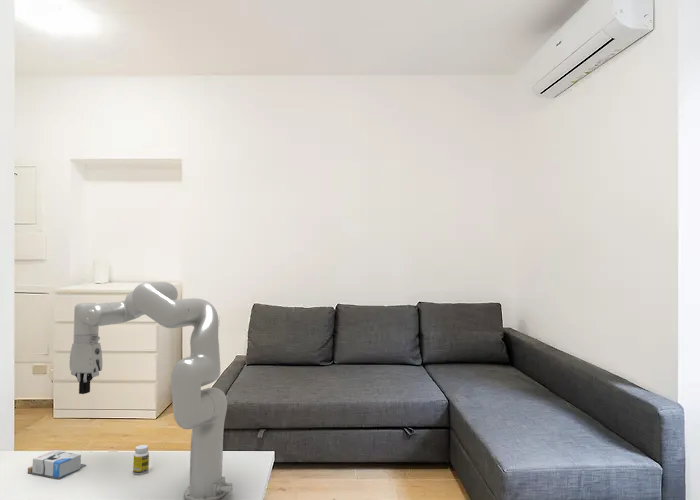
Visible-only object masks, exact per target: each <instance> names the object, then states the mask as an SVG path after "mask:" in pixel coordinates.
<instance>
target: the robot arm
mask: <svg viewBox="0 0 700 500" xmlns="http://www.w3.org/2000/svg"><path fill="white" fill-rule="evenodd" d="M178 293H179V292H178V289H177V288H176V286H175V285H174V284H172V283H171V282H167V281H150V282H149V281H147V282H142V283H140V284H138V285H137V286H136V287H135V288H134V289H133V291H130V292H129V293H127V295H126V297H125V299H124V300H121V301H115V302H114V301H113V302H103V303H96V302H83V303H82V302H81V303H76V305H75V306H74V310H73V311H74V315H73V342H72V345H71V347H70V348H71V349H70V354H69V371H70V375H72V376H74V377H76V379H77V382H78V383H79V384H78V394H79V395H86V394H89V393H90V392H91V381H93V379H94V378H95V377H100V372H101V371H102V370H103V351H102V345H101V342H99V341H100V339H101V338H100V336H99V333H100V332H99V329H100V328H99V327H104V326H110V325H117V324H118V325H119V324H124V323H127V322H129V321H133V320H136V319H138V318H141V317H142V316H146V317H148V318H149V319H151V320H153V321H154V322H156V323H157V324H158V325H160V326H162V327H164V328H167V329H178V328H184V327H189V326H190V327H191V326H192V327H193V329H192V332H191V335H190V338H189V346H190V353H189V354H190V356H188V357H187V356H186V357H184V358H182V359H180V360H178V361H177V363H176V364H174V367H173V370H172V372H171V397H172V412H173V417H174V420H175V422H176V424H177V425H178V426H179V428H180V429H181V428H182V429H183V430H191V435H190V455H189V457H190V460H189V463H190V464H189V485H188V486H187V487H186V488H184V491H183V497H184V499H185V500H220V499H221V498H223V497H224V496H225V495H226V494H232V492H233V485H234V484H233V483H231V482H227V481H226V476H223V453H224V431H225V430H224V427H225V420H226V415H227V410H228V400H227V399H228V398H227V396H226V394H225V393H224V391H223V390H221V389H220V388H218V387H207V388H203V389H202V387H204V386H207V385H210V384H212V383H214V382H216V381H217V380H218V379H219V378H220V375H221V356H220V355H221V354H220V343H219V326H220V325H219V315H218V312H217V310H216V308H215V306H213V304H212V303H210V301H208V300H205V299H204V298H203V299H202V298H195V297H194V298H184V299H183V298H181V299H178V296H179V294H178Z"/></svg>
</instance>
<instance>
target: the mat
mask: <svg viewBox="0 0 700 500" xmlns="http://www.w3.org/2000/svg"><path fill="white" fill-rule="evenodd" d="M86 466H87V464H85V463H81V468H80V469H82V468H85V467H86ZM32 467H33V465H31V466H29V467H27V474H28V475H33V476H34V475H35V476H40V477H45V478H46V477H47V478H53V479H58V480H60V479H61V478H64V477H66V476H68V475H71V474H72V473H74V472H75V471H73V472H71V473H69V474H67V475H64V476H62V477H60V478H58V477H53V476H48V475H43V474H38V473H33V472H32ZM80 469H78V470H77V471H79V470H80Z"/></svg>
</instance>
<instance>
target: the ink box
mask: <svg viewBox="0 0 700 500" xmlns="http://www.w3.org/2000/svg"><path fill="white" fill-rule="evenodd" d="M81 459H82V454H80V453H76V452H75V453H74V452H69V451H64V450H63V451H62V450H56V449H54V450H50V451H48V452H46V453H44V454H41V455H38V456H35V457H33V459H32V466H33V467H32V472H33V473H38V474H43V475H48V476H53V477H58V478H60V477H62V476H64V475H66V476H68V475H70V474H72V473H74V472H77V471H79V470H80V468H81V464H82V463H81V462H82V460H81ZM78 469H79V470H78ZM81 469H82V468H81ZM73 471H74V472H73ZM71 472H72V473H71ZM69 473H70V474H69ZM67 474H68V475H67ZM64 477H65V476H64ZM62 478H63V477H62ZM60 479H61V478H60Z"/></svg>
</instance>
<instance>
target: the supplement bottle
mask: <svg viewBox="0 0 700 500" xmlns="http://www.w3.org/2000/svg"><path fill="white" fill-rule="evenodd" d="M134 451H135V452H134V454H133V464H132V465H133V466H132V469H133V470H132V474H134V475H135V476H138V475H139V476H141V475H144V474H147V473H148V472H149V465H150V463H149V462H150V461H149V460H150V452H149V445H148V444H140V445H136V446H135V448H134Z"/></svg>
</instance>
